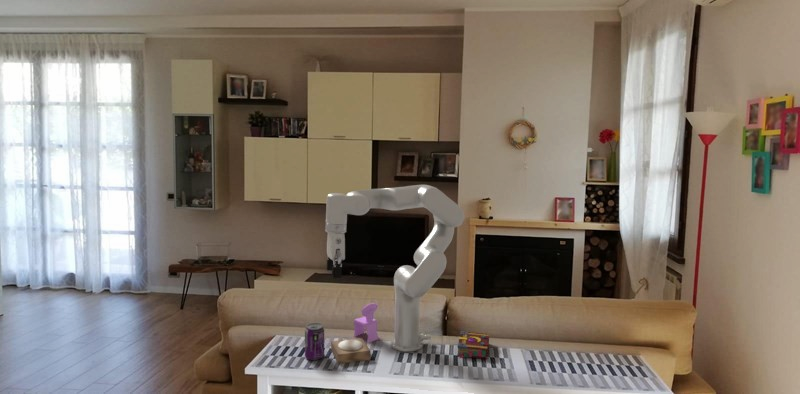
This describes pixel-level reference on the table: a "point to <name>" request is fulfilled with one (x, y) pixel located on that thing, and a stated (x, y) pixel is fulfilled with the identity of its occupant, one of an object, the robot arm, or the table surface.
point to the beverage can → (314, 341)
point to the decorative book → (473, 345)
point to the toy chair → (367, 323)
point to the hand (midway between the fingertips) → (333, 273)
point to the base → (350, 350)
